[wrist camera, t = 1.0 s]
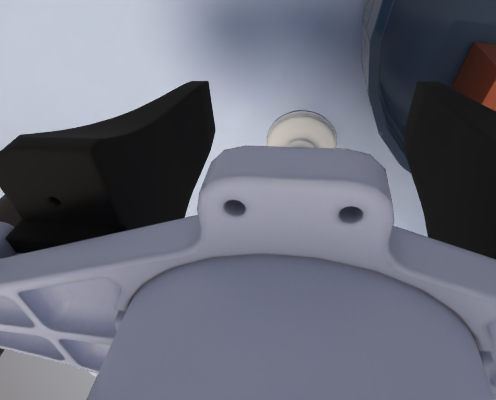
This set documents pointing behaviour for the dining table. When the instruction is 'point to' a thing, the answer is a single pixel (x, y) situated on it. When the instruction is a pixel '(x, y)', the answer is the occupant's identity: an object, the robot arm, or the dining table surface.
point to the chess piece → (302, 131)
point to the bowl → (416, 53)
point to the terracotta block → (479, 75)
